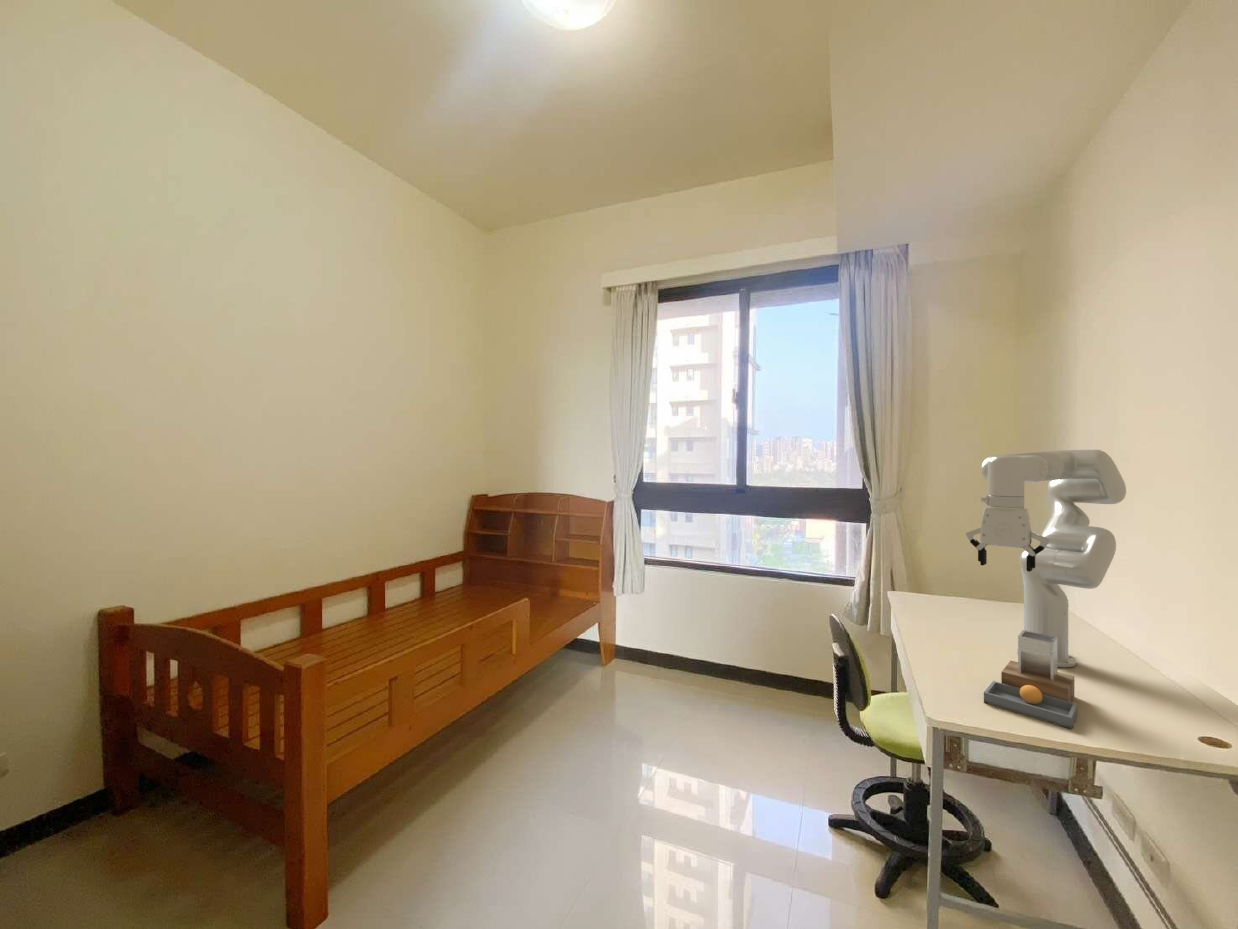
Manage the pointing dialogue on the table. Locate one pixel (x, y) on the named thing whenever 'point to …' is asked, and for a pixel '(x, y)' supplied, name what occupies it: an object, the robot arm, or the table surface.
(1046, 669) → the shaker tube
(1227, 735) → the table surface
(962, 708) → the table surface
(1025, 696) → the ball
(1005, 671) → the stand
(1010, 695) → the tray
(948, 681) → the table surface
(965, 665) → the table surface
